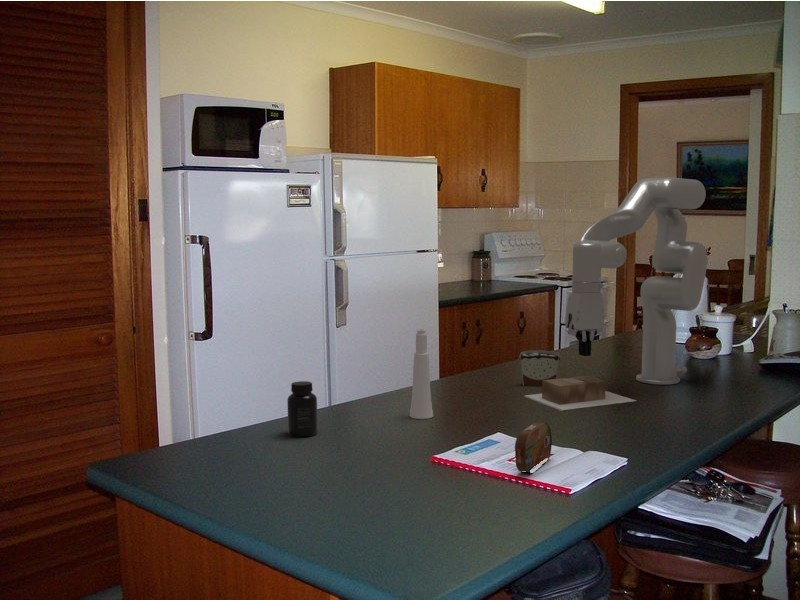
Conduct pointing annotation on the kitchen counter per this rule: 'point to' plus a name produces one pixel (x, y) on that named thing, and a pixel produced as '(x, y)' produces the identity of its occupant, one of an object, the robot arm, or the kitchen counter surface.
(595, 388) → the walnut block
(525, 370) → the food container
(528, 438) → the tin
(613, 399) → the grey mat
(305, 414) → the supplement bottle
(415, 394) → the cosmetic bottle
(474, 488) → the kitchen counter surface
